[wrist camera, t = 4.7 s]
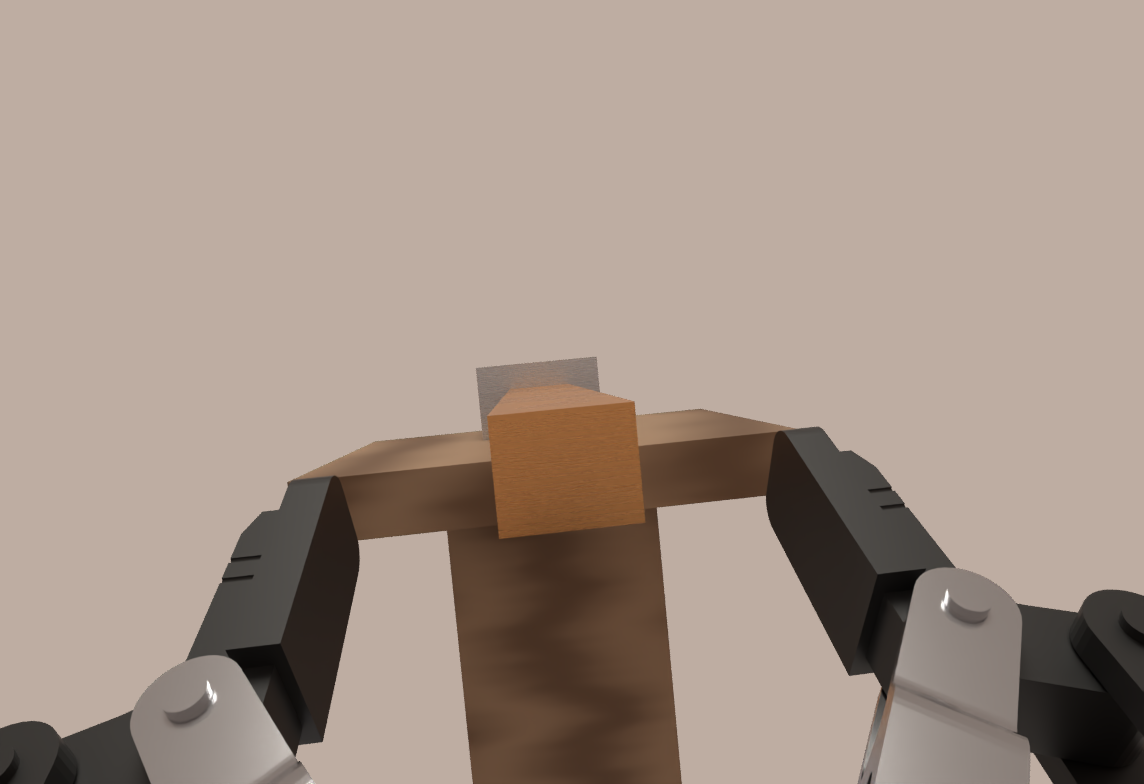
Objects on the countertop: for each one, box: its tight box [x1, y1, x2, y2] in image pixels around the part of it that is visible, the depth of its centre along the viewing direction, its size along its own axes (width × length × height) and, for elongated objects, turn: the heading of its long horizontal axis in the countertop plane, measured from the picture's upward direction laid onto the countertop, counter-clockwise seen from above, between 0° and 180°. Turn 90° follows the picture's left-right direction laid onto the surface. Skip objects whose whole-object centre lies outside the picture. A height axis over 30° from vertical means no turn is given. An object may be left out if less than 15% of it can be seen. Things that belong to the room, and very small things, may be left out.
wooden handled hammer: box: [476, 357, 645, 539], centre depth 22 cm, size 5×22×3 cm, turn 4°
